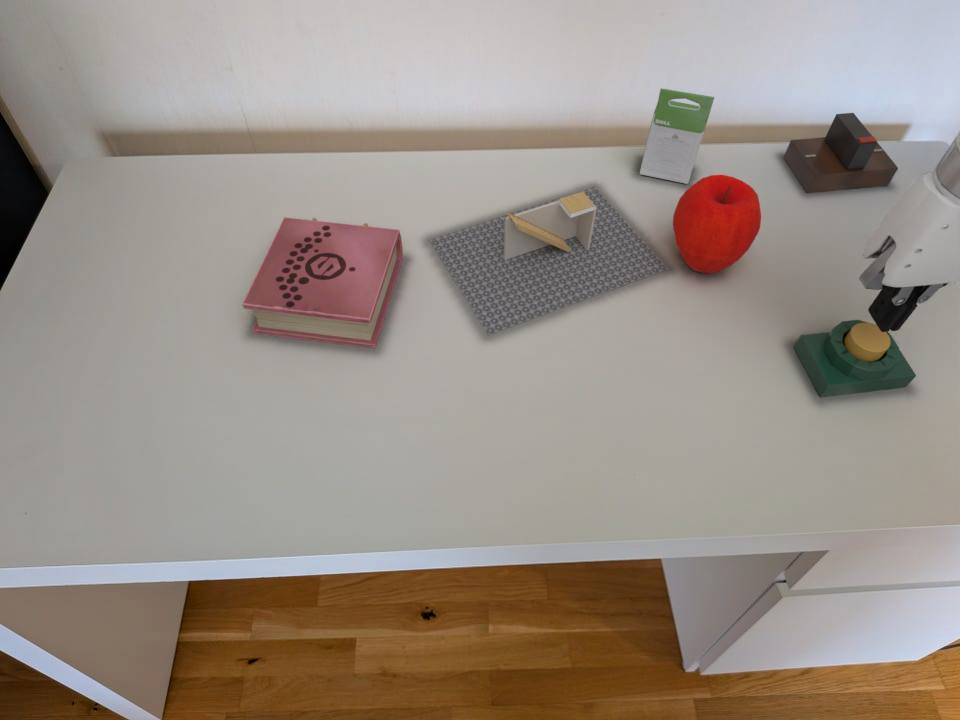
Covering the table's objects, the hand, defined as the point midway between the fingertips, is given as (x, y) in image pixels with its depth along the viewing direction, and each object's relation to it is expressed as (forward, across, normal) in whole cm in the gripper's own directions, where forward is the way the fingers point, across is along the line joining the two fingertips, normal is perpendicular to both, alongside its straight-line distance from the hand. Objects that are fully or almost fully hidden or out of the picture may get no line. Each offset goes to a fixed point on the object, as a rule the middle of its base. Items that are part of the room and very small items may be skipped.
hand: (882, 320), depth 69 cm
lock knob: (+5, -14, -33) cm, 36 cm away
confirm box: (+8, 0, 0) cm, 8 cm away
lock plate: (+8, -14, -33) cm, 37 cm away
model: (+8, +30, -22) cm, 38 cm away
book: (+9, +57, -19) cm, 61 cm away
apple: (+8, +11, -18) cm, 23 cm away
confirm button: (+4, 0, 0) cm, 4 cm away
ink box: (+8, +10, -36) cm, 38 cm away
